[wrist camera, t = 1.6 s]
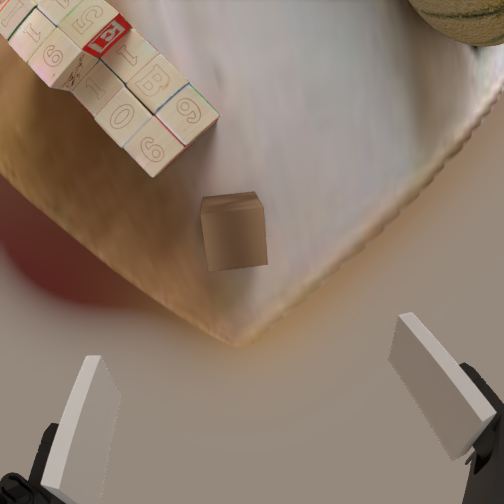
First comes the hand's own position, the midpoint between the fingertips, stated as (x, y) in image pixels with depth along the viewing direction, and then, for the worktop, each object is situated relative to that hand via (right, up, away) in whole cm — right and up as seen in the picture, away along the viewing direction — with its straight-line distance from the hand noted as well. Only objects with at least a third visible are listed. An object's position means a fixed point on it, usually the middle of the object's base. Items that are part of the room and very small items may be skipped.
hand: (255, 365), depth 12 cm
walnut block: (-2, +8, +18) cm, 20 cm away
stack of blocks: (-12, +22, +11) cm, 28 cm away
